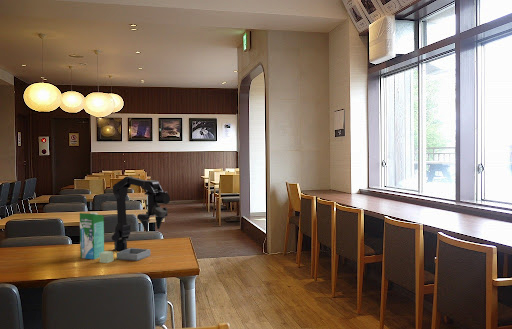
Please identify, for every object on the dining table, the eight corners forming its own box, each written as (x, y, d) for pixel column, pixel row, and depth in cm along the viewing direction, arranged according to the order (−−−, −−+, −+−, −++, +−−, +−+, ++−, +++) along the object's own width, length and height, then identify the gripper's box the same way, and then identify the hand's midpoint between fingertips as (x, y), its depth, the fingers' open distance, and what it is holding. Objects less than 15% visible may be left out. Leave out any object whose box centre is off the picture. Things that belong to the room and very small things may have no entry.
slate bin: (116, 259, 253) (116, 252, 253) (130, 253, 265) (130, 247, 265) (137, 261, 248) (137, 254, 248) (150, 255, 261) (150, 249, 260)
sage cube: (99, 262, 246) (99, 253, 246) (105, 260, 251) (105, 251, 251) (107, 263, 245) (107, 253, 244) (113, 260, 249) (113, 251, 249)
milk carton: (104, 255, 261) (103, 211, 260) (93, 259, 252) (93, 213, 251) (91, 254, 264) (90, 210, 263) (80, 258, 255) (79, 212, 254)
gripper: (151, 205, 250) (151, 234, 250) (174, 202, 266) (174, 229, 266) (136, 204, 256) (136, 232, 256) (160, 200, 271) (160, 227, 272)
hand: (152, 230), depth 263 cm, fingers open, 9 cm apart
